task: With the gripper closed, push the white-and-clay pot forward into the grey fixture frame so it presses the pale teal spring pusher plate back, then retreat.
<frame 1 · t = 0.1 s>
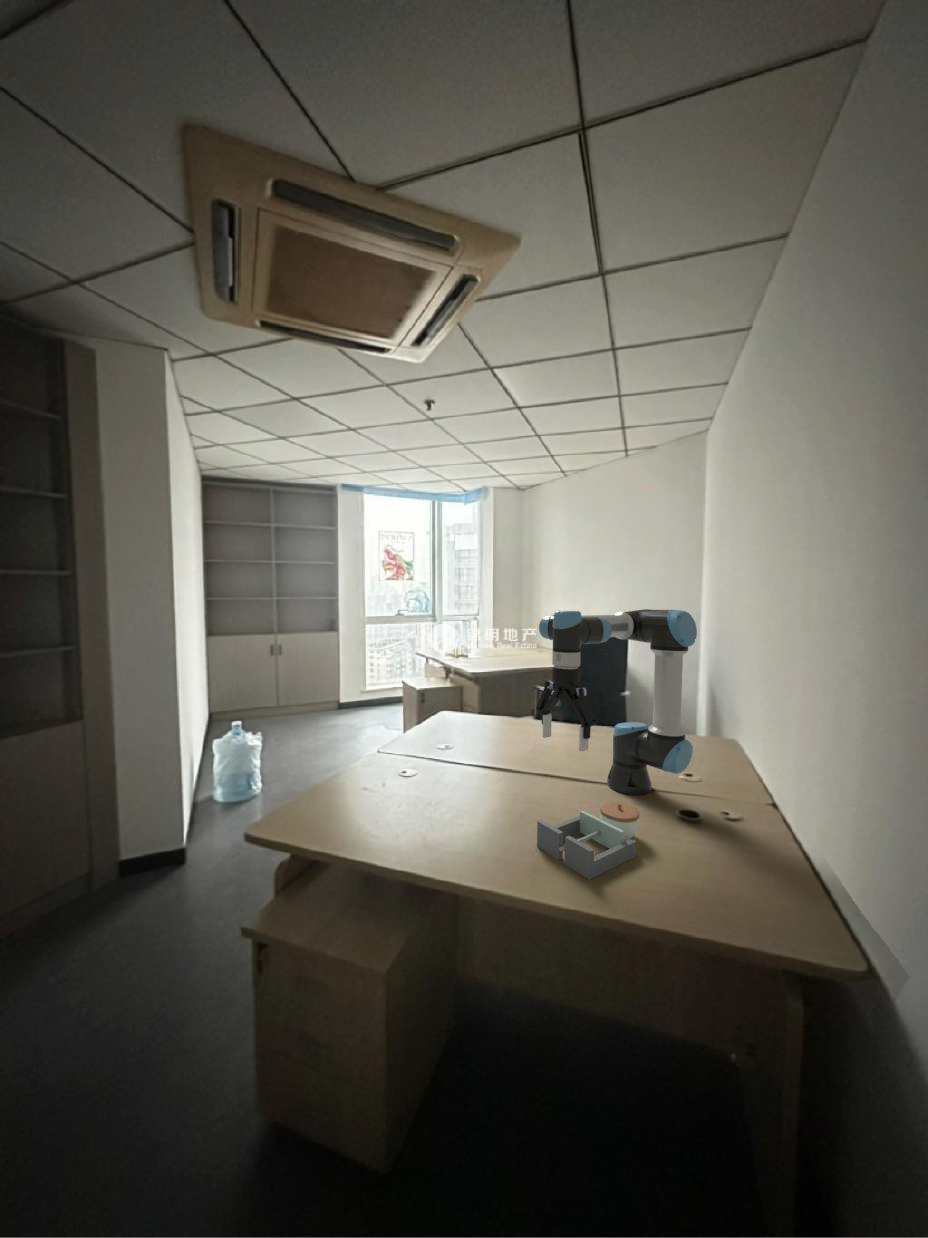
hand: (564, 743, 126), 28 cm above the table, fingers open, 13 cm apart
grey fixture frame: (587, 850, 123), on the table
lidded jar: (618, 836, 131), on the table
pusher: (582, 839, 121), point 4 cm above the table, slide at 0.0 cm
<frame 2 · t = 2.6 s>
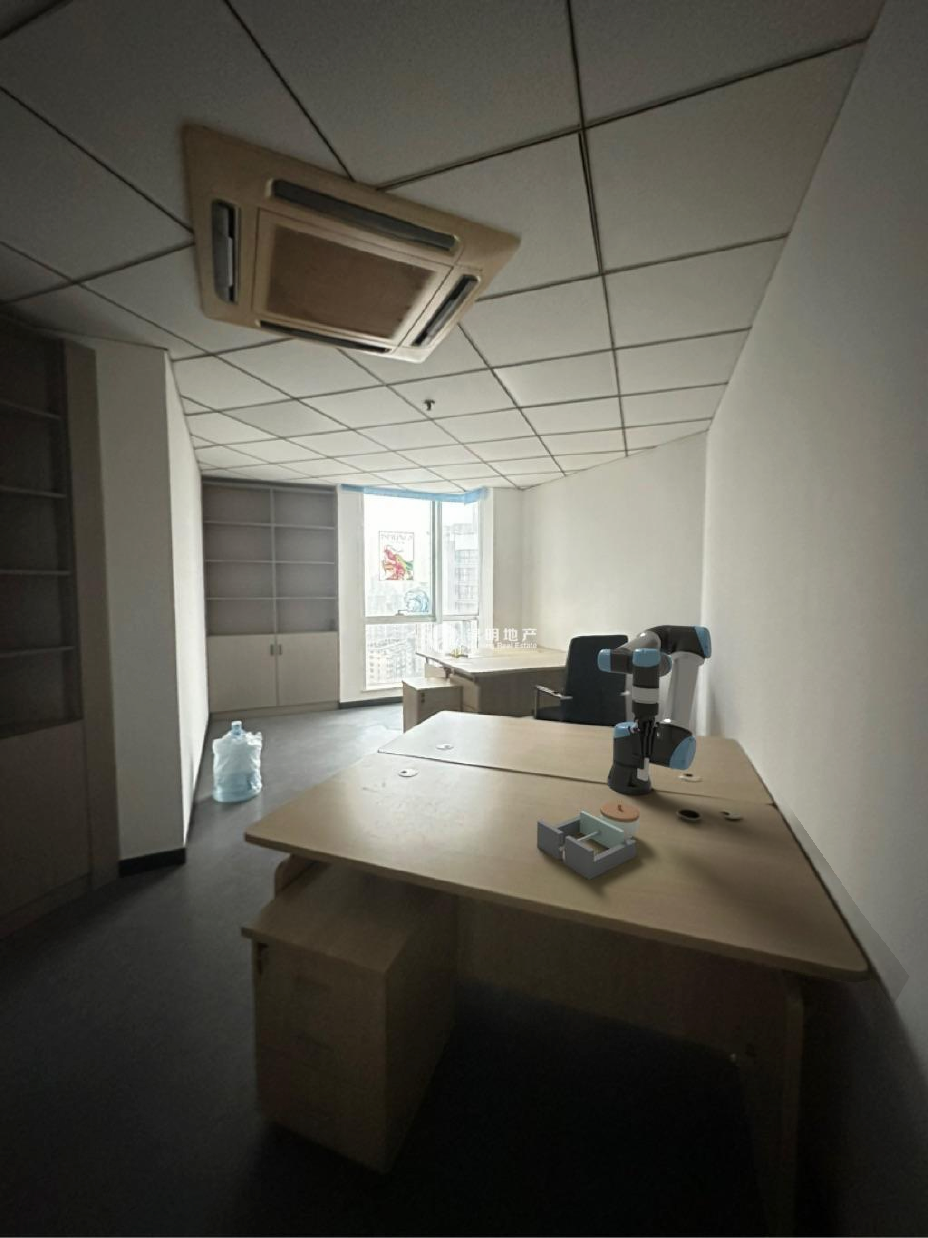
hand: (642, 778, 136), 14 cm above the table, fingers closed
nothing on the table moved.
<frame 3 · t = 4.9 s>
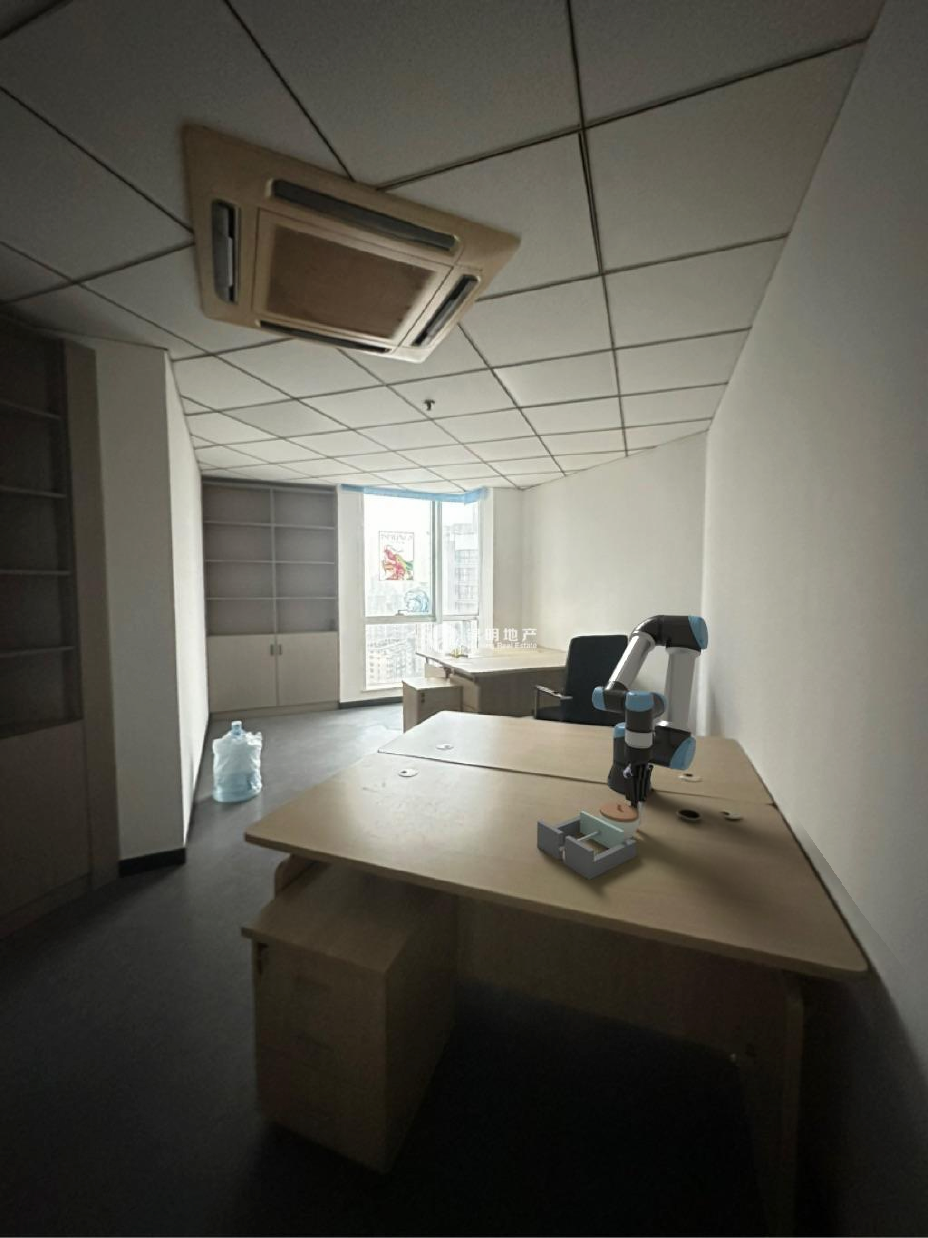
hand: (636, 822, 135), 2 cm above the table, fingers closed
lidded jar: (618, 836, 130), on the table, touching gripper
everything else where it was.
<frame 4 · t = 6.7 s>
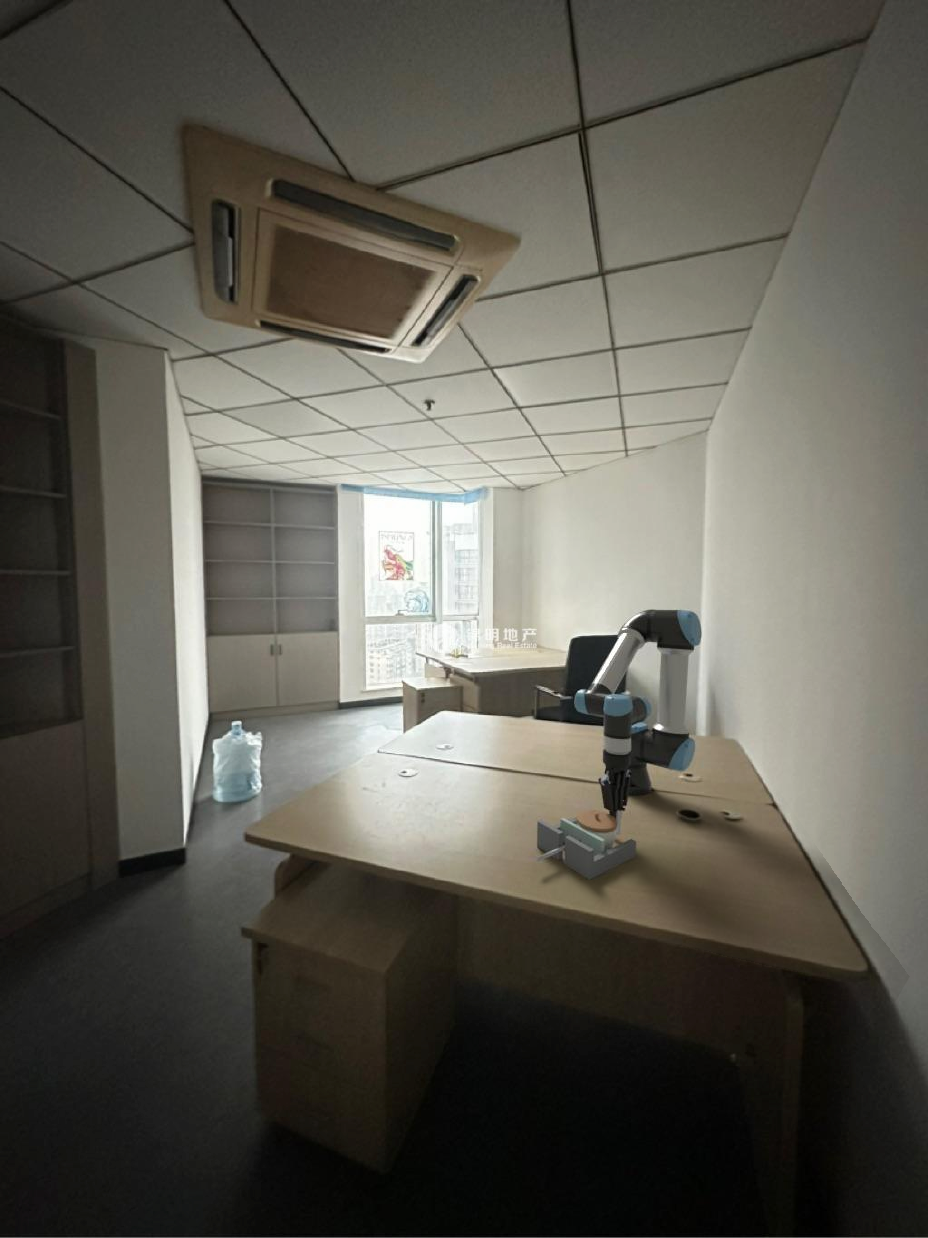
hand: (614, 832, 129), 2 cm above the table, fingers closed
lidded jar: (596, 847, 125), on the table, touching gripper, pusher
pusher: (561, 848, 117), point 4 cm above the table, slide at 8.0 cm, touching lidded jar
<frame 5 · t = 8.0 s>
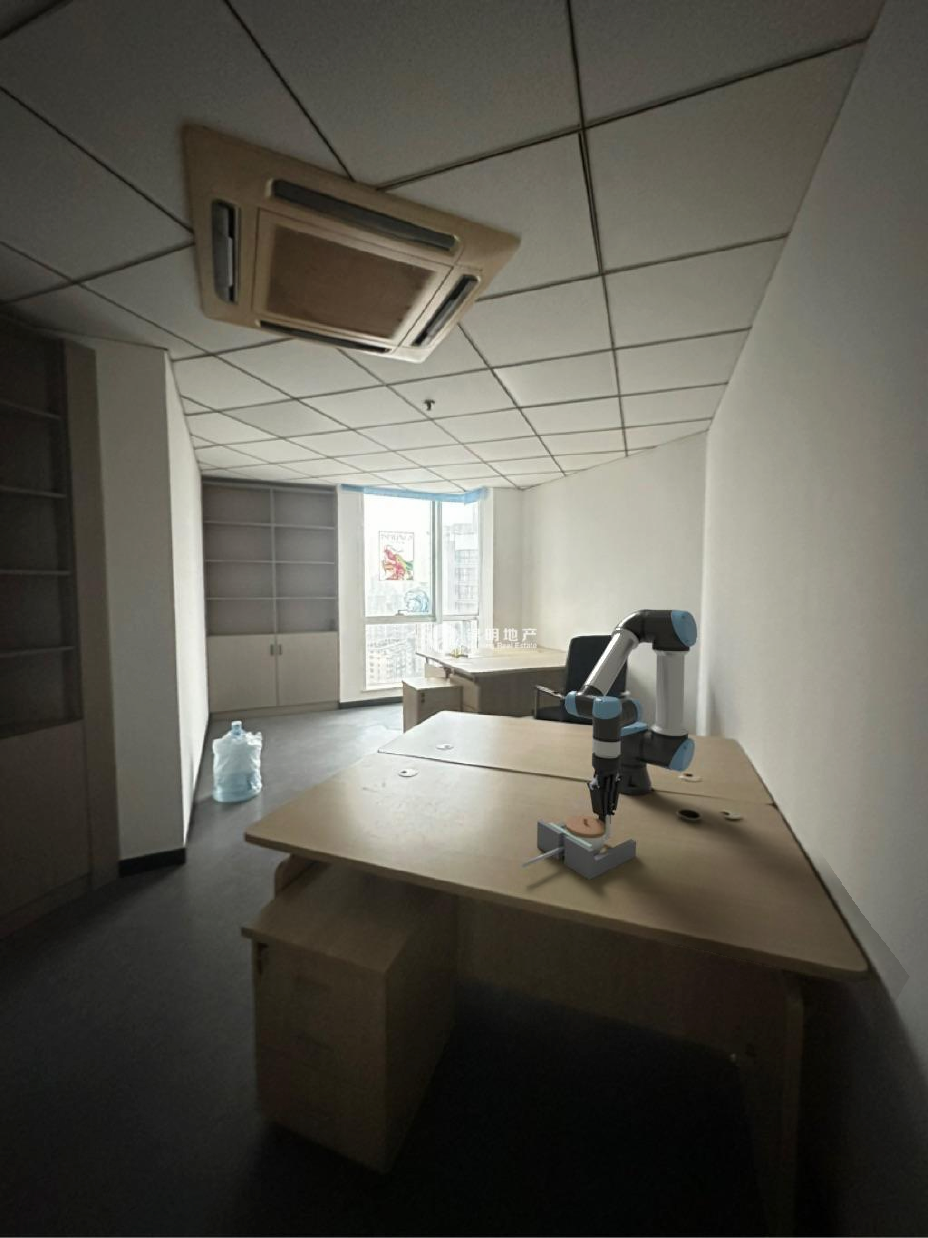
hand: (604, 837, 127), 2 cm above the table, fingers closed
lidded jar: (584, 852, 122), on the table, touching gripper, pusher
pusher: (548, 854, 114), point 4 cm above the table, slide at 12.8 cm, touching lidded jar
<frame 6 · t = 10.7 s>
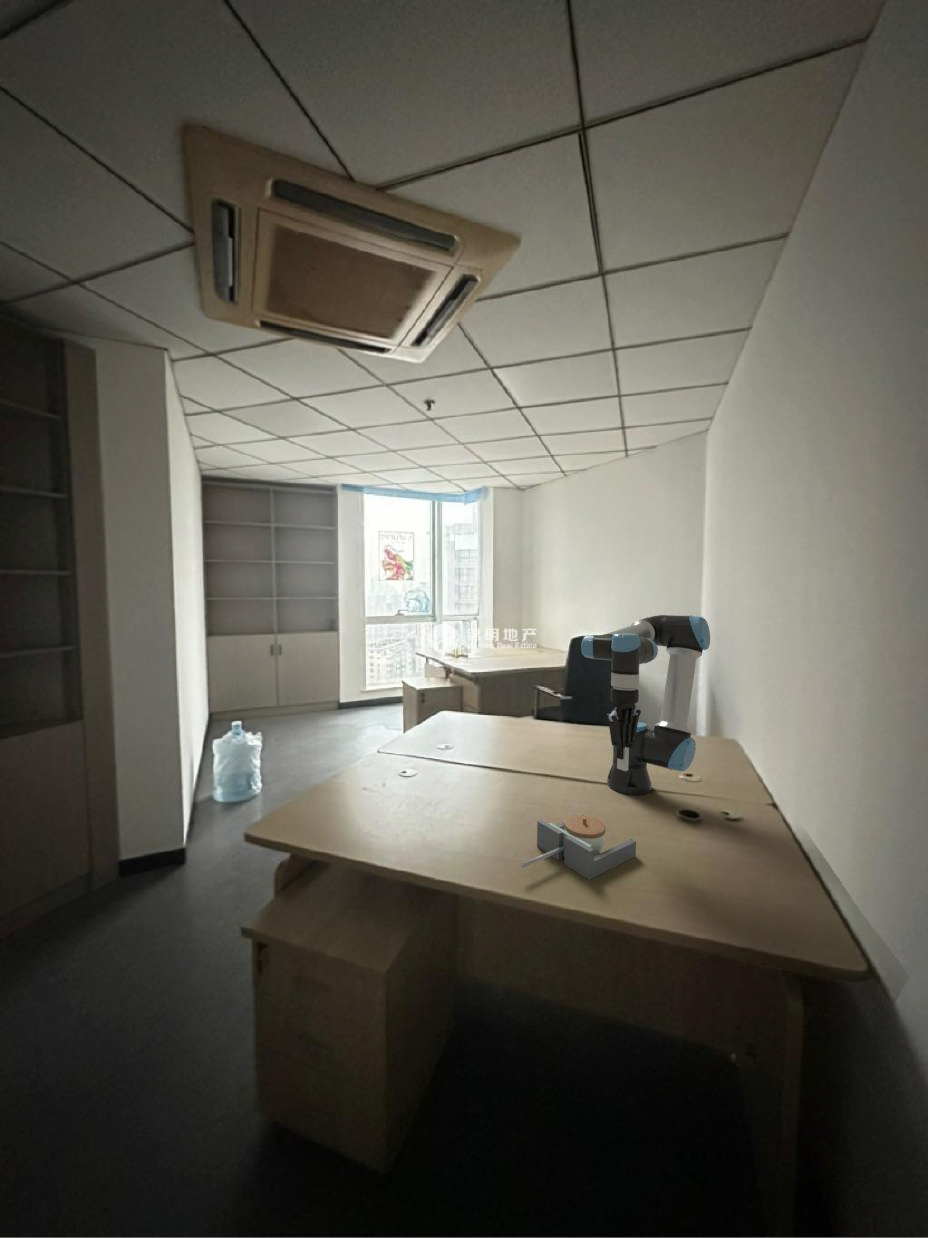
hand: (622, 769, 130), 19 cm above the table, fingers closed
lidded jar: (583, 853, 122), on the table
pusher: (547, 854, 114), point 4 cm above the table, slide at 13.0 cm
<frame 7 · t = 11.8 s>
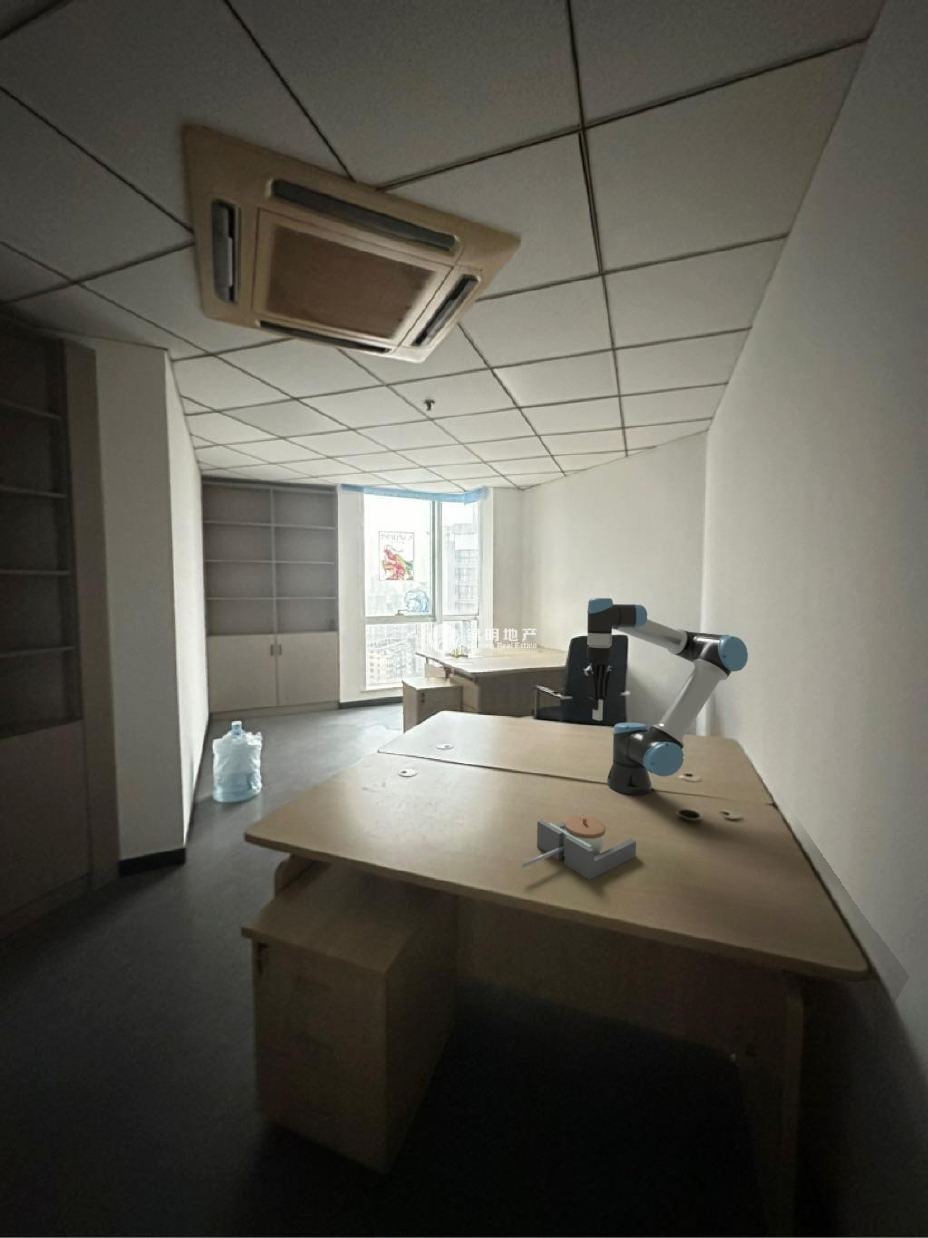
hand: (597, 719, 146), 29 cm above the table, fingers closed
nothing on the table moved.
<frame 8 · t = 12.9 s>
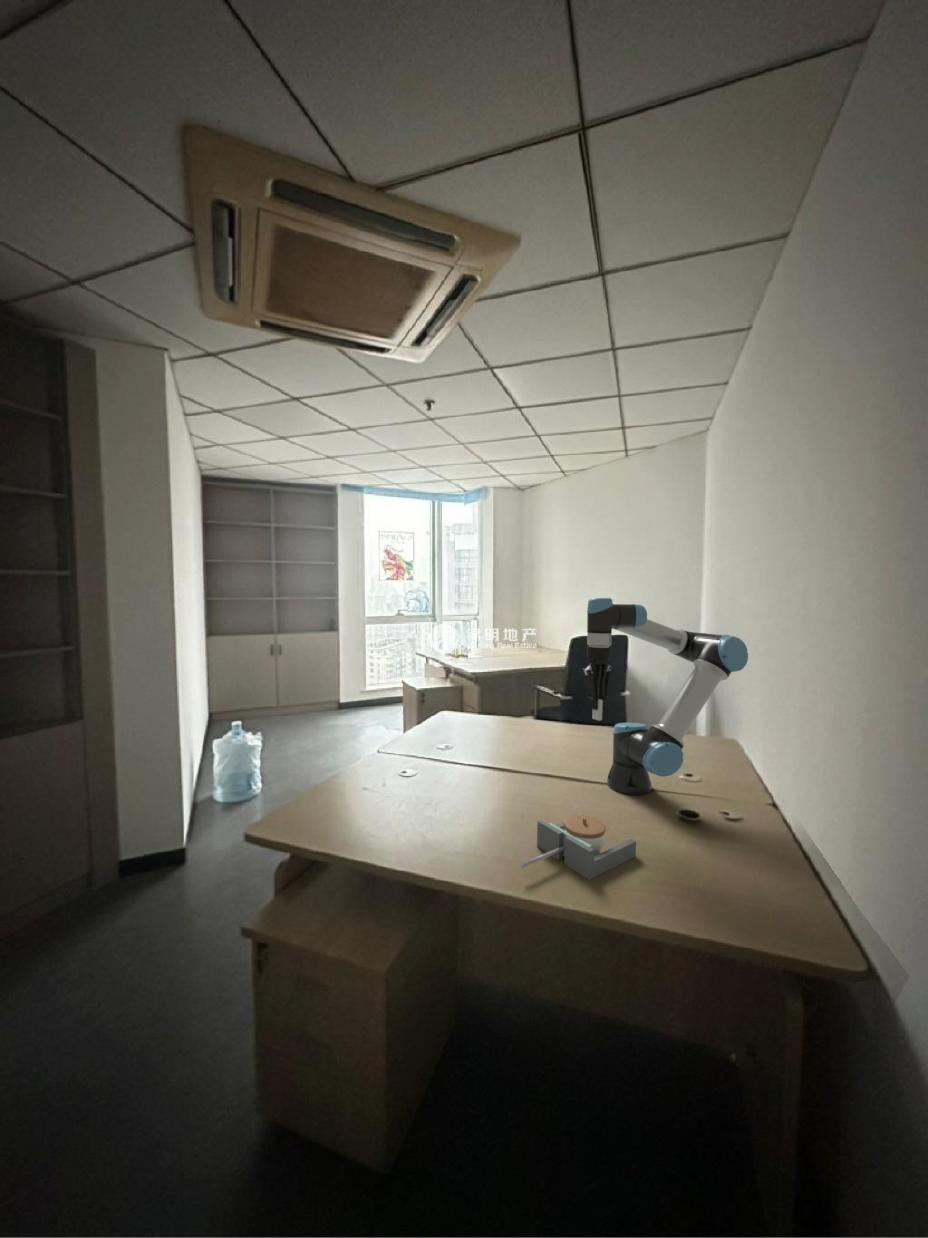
hand: (597, 719, 146), 29 cm above the table, fingers closed
nothing on the table moved.
at the end: lidded jar inside the target area (0.2 cm from its centre), on the table; pusher slide at 13.0 cm; lidded jar tilted 0° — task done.
